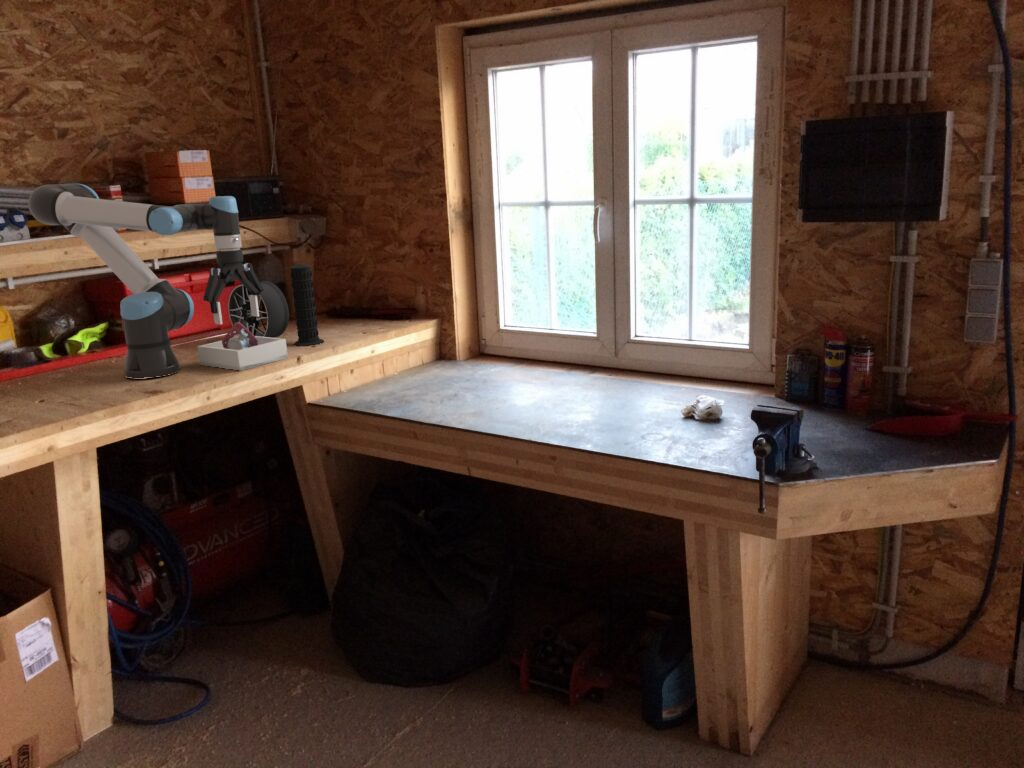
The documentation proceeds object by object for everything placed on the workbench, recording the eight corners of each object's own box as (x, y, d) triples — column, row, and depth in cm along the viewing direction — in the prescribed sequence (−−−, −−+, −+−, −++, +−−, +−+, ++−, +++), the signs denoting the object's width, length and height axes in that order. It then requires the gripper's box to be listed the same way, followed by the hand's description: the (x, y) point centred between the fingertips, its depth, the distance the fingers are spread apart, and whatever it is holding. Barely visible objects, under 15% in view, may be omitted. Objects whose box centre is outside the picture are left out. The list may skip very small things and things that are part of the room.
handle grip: (319, 345, 281) (328, 339, 290) (310, 264, 274) (319, 261, 284) (289, 346, 282) (299, 340, 291) (279, 266, 275) (290, 262, 285)
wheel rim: (232, 340, 297) (224, 283, 292) (253, 335, 305) (246, 279, 300) (271, 345, 286) (264, 285, 281) (292, 339, 294) (285, 281, 289)
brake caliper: (266, 344, 268) (254, 318, 259) (259, 371, 261) (246, 346, 252) (231, 345, 269) (218, 320, 260) (223, 373, 262) (209, 348, 253)
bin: (240, 371, 250) (237, 351, 249) (200, 365, 261) (197, 346, 259) (287, 358, 264) (285, 339, 263) (247, 353, 275) (245, 334, 274)
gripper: (200, 254, 242) (210, 328, 247) (270, 245, 262) (278, 314, 267) (184, 253, 246) (194, 326, 252) (254, 244, 266) (262, 312, 271)
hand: (237, 320), depth 259 cm, fingers open, 13 cm apart
